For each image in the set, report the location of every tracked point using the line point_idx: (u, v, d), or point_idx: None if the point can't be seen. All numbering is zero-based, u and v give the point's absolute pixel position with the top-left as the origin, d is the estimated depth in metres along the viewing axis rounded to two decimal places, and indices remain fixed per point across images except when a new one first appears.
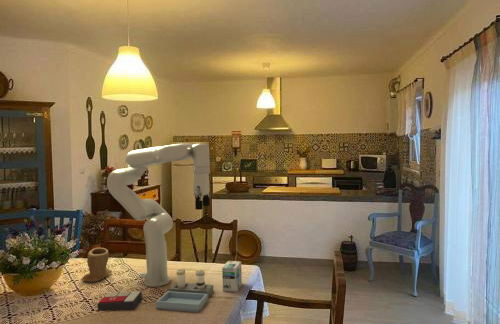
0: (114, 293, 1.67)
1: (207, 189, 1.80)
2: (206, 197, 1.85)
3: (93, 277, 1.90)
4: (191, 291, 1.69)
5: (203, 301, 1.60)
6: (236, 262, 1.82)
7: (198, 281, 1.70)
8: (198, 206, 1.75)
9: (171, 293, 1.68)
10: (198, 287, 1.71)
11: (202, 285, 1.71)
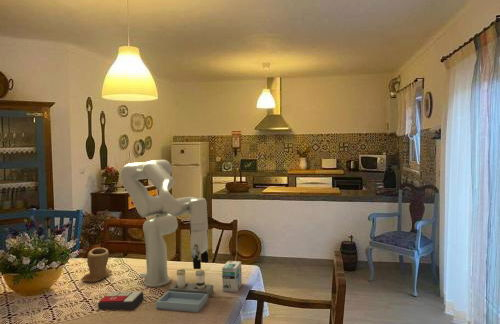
0: (116, 292, 1.67)
1: (205, 246, 1.71)
2: (205, 253, 1.76)
3: (93, 277, 1.90)
4: (191, 291, 1.69)
5: (203, 301, 1.60)
6: (236, 262, 1.82)
7: (198, 281, 1.70)
8: (196, 266, 1.66)
9: (171, 293, 1.68)
10: (198, 287, 1.71)
11: (202, 285, 1.71)
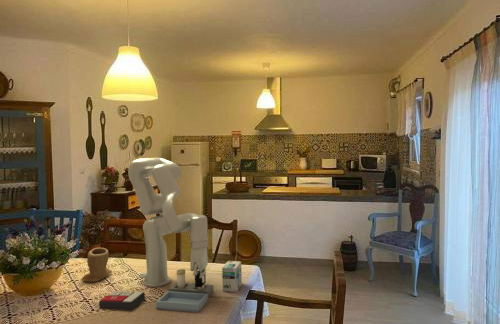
0: (118, 292, 1.68)
1: (205, 263, 1.72)
2: None
3: (93, 277, 1.90)
4: (191, 291, 1.69)
5: (203, 301, 1.60)
6: (236, 262, 1.82)
7: None
8: (198, 284, 1.69)
9: (171, 293, 1.68)
10: (198, 287, 1.71)
11: (202, 285, 1.71)
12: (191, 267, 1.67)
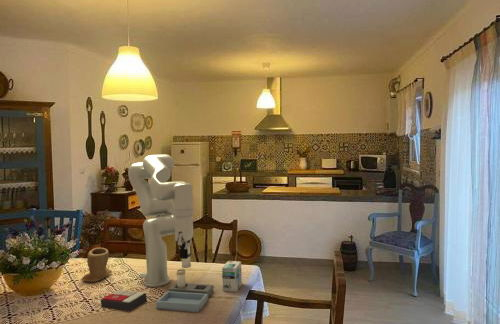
0: (122, 291, 1.69)
1: (190, 233, 1.63)
2: None
3: (93, 277, 1.90)
4: (191, 291, 1.69)
5: (203, 301, 1.60)
6: (236, 262, 1.82)
7: None
8: (183, 255, 1.59)
9: (171, 293, 1.68)
10: (183, 259, 1.61)
11: (188, 257, 1.61)
12: (176, 237, 1.58)
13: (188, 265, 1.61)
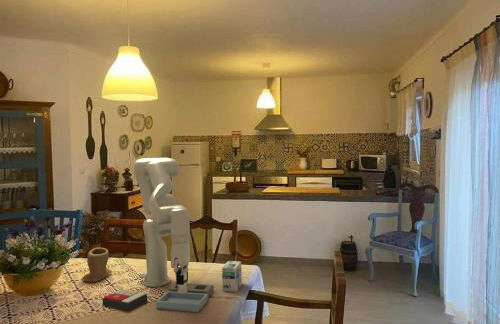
0: (124, 291, 1.69)
1: (187, 259, 1.61)
2: None
3: (93, 277, 1.90)
4: (191, 291, 1.69)
5: (203, 301, 1.60)
6: (236, 262, 1.82)
7: None
8: (179, 281, 1.58)
9: (171, 293, 1.68)
10: (180, 285, 1.59)
11: (184, 283, 1.59)
12: (171, 263, 1.56)
13: (184, 291, 1.59)
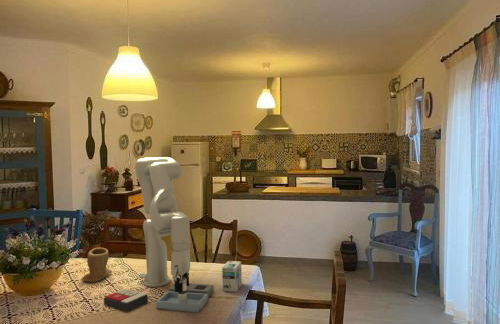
0: (126, 291, 1.69)
1: (187, 266, 1.61)
2: (185, 276, 1.64)
3: (93, 277, 1.90)
4: (191, 291, 1.69)
5: (203, 301, 1.60)
6: (236, 262, 1.82)
7: None
8: (178, 289, 1.57)
9: (171, 293, 1.68)
10: (180, 295, 1.60)
11: (184, 293, 1.60)
12: (172, 271, 1.56)
13: (184, 302, 1.60)
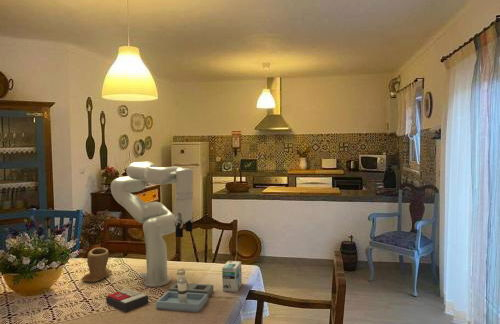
0: (129, 290, 1.69)
1: (189, 215, 1.75)
2: (189, 222, 1.79)
3: (93, 277, 1.90)
4: (191, 291, 1.69)
5: (203, 301, 1.60)
6: (236, 262, 1.82)
7: (180, 289, 1.59)
8: (178, 234, 1.69)
9: (171, 293, 1.68)
10: (180, 295, 1.60)
11: (184, 293, 1.60)
12: (175, 218, 1.70)
13: (184, 302, 1.60)
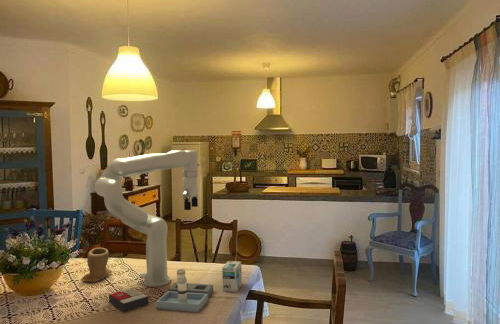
0: (132, 290, 1.70)
1: (195, 191, 1.99)
2: (194, 199, 2.03)
3: (93, 277, 1.90)
4: (191, 291, 1.69)
5: (203, 301, 1.60)
6: (236, 262, 1.82)
7: (180, 289, 1.59)
8: (187, 207, 1.93)
9: (171, 293, 1.68)
10: (180, 295, 1.60)
11: (184, 293, 1.60)
12: (183, 193, 1.94)
13: (184, 302, 1.60)
